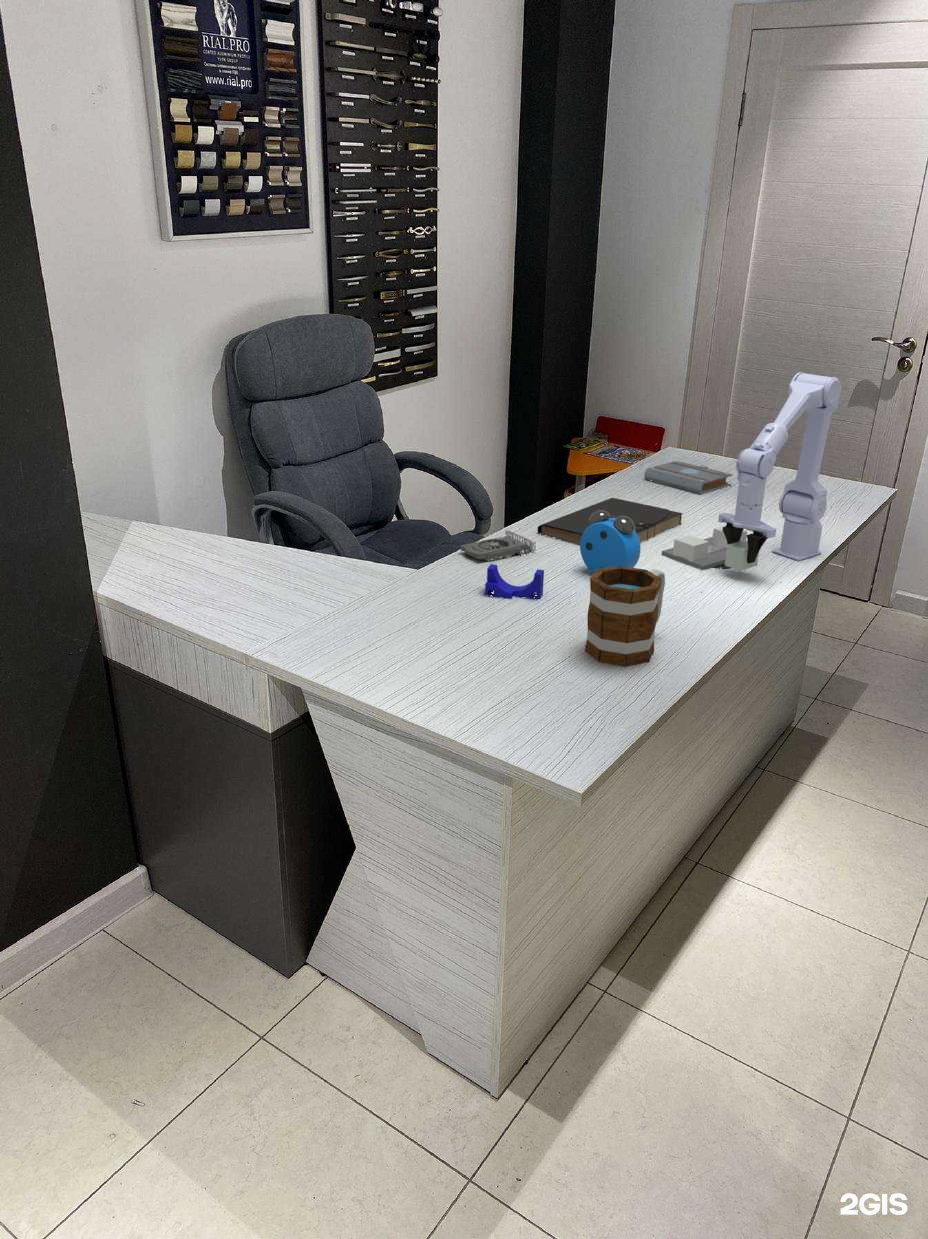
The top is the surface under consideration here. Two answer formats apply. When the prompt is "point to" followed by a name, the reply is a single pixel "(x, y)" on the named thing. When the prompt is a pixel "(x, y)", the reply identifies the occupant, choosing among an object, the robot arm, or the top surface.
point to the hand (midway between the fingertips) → (741, 559)
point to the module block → (738, 556)
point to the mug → (623, 614)
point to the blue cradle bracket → (508, 590)
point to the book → (688, 477)
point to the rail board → (713, 558)
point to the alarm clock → (609, 542)
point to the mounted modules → (699, 545)
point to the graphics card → (499, 547)
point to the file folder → (643, 516)
